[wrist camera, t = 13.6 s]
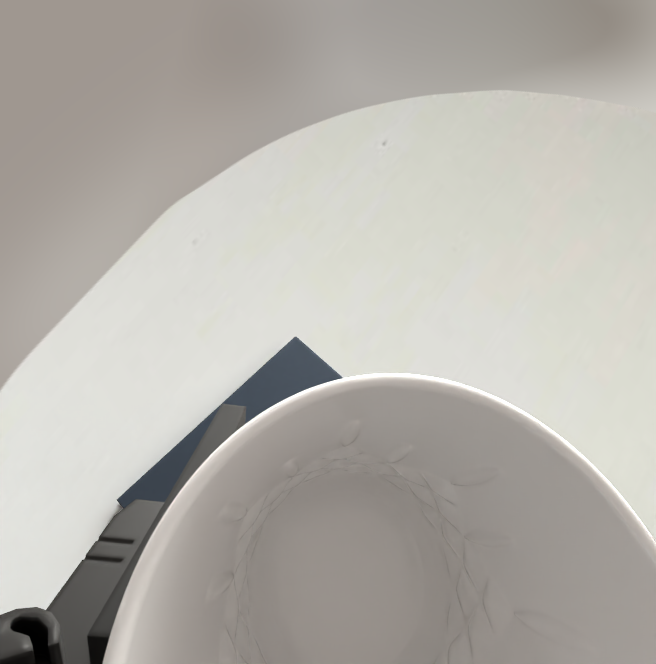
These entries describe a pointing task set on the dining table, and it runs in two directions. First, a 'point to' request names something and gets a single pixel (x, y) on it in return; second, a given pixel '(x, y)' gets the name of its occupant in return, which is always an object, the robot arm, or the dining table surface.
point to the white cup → (393, 541)
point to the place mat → (256, 394)
